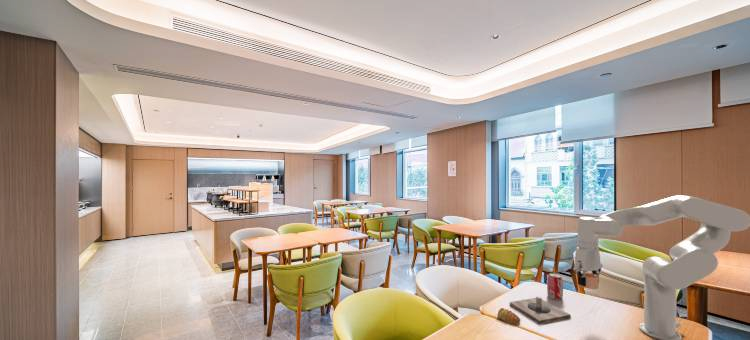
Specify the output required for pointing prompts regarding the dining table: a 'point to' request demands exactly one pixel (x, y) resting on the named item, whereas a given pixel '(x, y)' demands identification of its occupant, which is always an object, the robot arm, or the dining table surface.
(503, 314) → the brown ridged oval piece
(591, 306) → the dining table surface
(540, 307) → the post stand
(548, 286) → the soda can
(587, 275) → the ring
